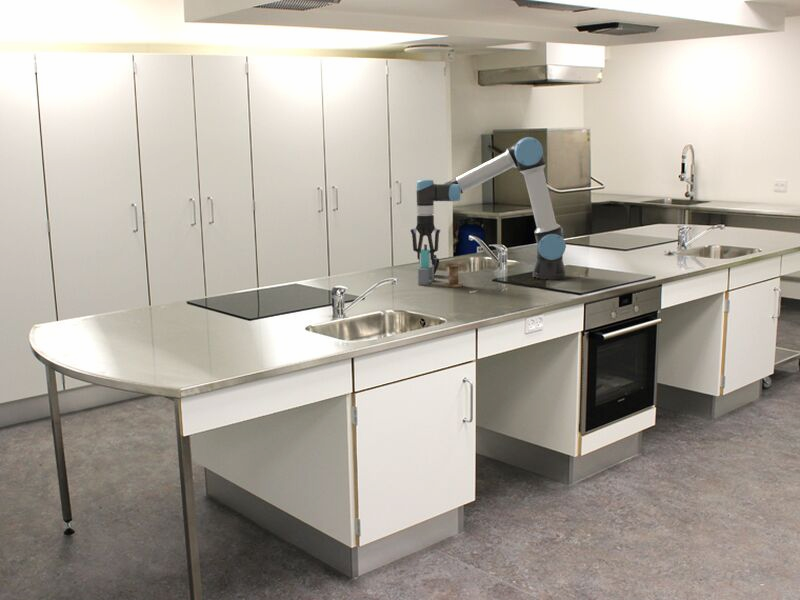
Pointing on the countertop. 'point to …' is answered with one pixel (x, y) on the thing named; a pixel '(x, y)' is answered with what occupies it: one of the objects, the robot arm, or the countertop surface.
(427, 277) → the notch board
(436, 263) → the mug
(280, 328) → the countertop surface
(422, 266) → the teal bottle
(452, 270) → the bobbin
